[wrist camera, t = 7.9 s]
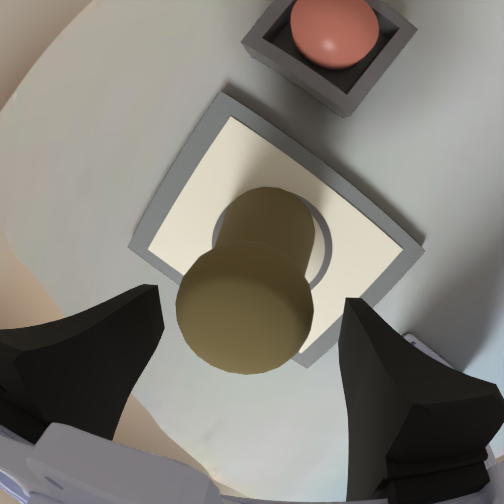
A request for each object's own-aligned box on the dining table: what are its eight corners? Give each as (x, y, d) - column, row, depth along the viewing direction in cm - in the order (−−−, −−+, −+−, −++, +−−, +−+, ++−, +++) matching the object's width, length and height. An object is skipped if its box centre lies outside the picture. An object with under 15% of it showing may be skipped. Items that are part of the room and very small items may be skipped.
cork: (214, 263, 22) (149, 371, 12) (231, 176, 19) (158, 230, 9) (300, 285, 21) (296, 411, 11) (326, 200, 19) (355, 280, 9)
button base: (400, 43, 15) (418, 29, 12) (341, 118, 18) (350, 115, 15) (311, -17, 15) (312, -41, 11) (250, 56, 17) (240, 41, 14)
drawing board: (421, 247, 20) (426, 252, 19) (307, 362, 25) (307, 370, 24) (223, 92, 18) (219, 90, 18) (132, 243, 23) (126, 247, 22)
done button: (382, 33, 14) (394, 21, 11) (341, 85, 15) (348, 78, 13) (319, -9, 13) (321, -26, 11) (276, 41, 15) (273, 28, 13)
